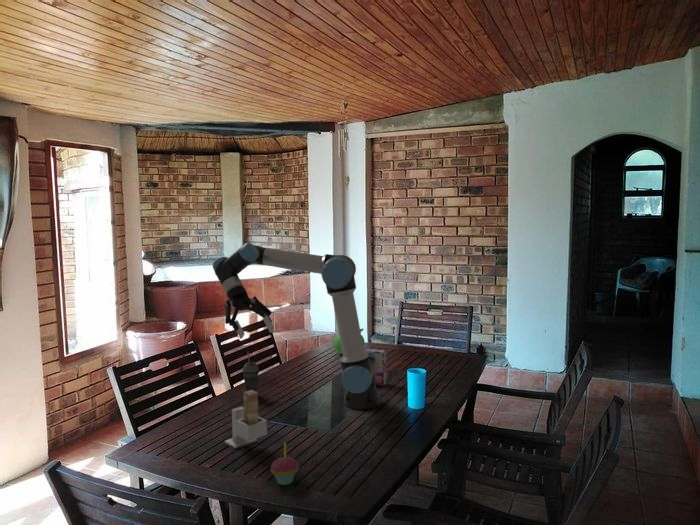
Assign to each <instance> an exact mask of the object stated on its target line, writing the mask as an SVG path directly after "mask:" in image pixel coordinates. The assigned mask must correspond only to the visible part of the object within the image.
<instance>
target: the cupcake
mask: <svg viewBox="0 0 700 525" xmlns="http://www.w3.org/2000/svg"><path fill="white" fill-rule="evenodd" d="M299 470H300V464H299V462H298V461H297V460H296V459H295V458H293V457H290V456H287V443H286V442H284V443H283V456H281V457H279V458H276V459H275V460H274V461H273V462H272V464H271V465H270V472H271V473H272V475H274V477H275V480H276V483H277V484H278V485H282V486H286V485H287V486H289V485H291V484H292V483H293V481H294V477H295V475H296V474H297V472H298V471H299Z"/></svg>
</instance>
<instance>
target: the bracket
mask: <svg viewBox="0 0 700 525" xmlns="http://www.w3.org/2000/svg"><path fill="white" fill-rule="evenodd" d="M231 422H232V425H231V428H232V437H231V438H229V439H226V440H224V444H226V445H227V444H228V445H227V446H229V447H231V446H232V447H233V449H234V448H235V450H236V448H237V449H239V447H240V448H242V446H243V447H245V445H246V446H248V445H251V444H254V443H256V441H257V442H258V438H261V437H264V436H267V435H268V420H266V419H265V418H263V417H261V416H259V415H258V422H257V423H254V424H251V425H247V424H245V423H244V406H239V407H235V408H232V409H231ZM232 447H231V448H232Z"/></svg>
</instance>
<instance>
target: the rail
mask: <svg viewBox="0 0 700 525" xmlns="http://www.w3.org/2000/svg"><path fill="white" fill-rule="evenodd" d="M243 407H244V423H245V424H247V425H251V424H254V423H257V422H258V416H259V391H257V392H256V391H254V390H250V391H244V392H243Z"/></svg>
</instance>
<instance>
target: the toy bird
mask: <svg viewBox="0 0 700 525" xmlns="http://www.w3.org/2000/svg"><path fill="white" fill-rule="evenodd" d="M364 330H365V328H360V332H363V331H364ZM361 337H362V342H363V348H364V349H365V344H366V343H365V342H366V341H365V338H364V336H363V335H362V334H361ZM332 344H333V347H334V349H335V351H337V353H339V354H341V355H343V352H342V347H341V342H340V336H339V331H338V330H337V334H336V335H334V339H333V343H332Z"/></svg>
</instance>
